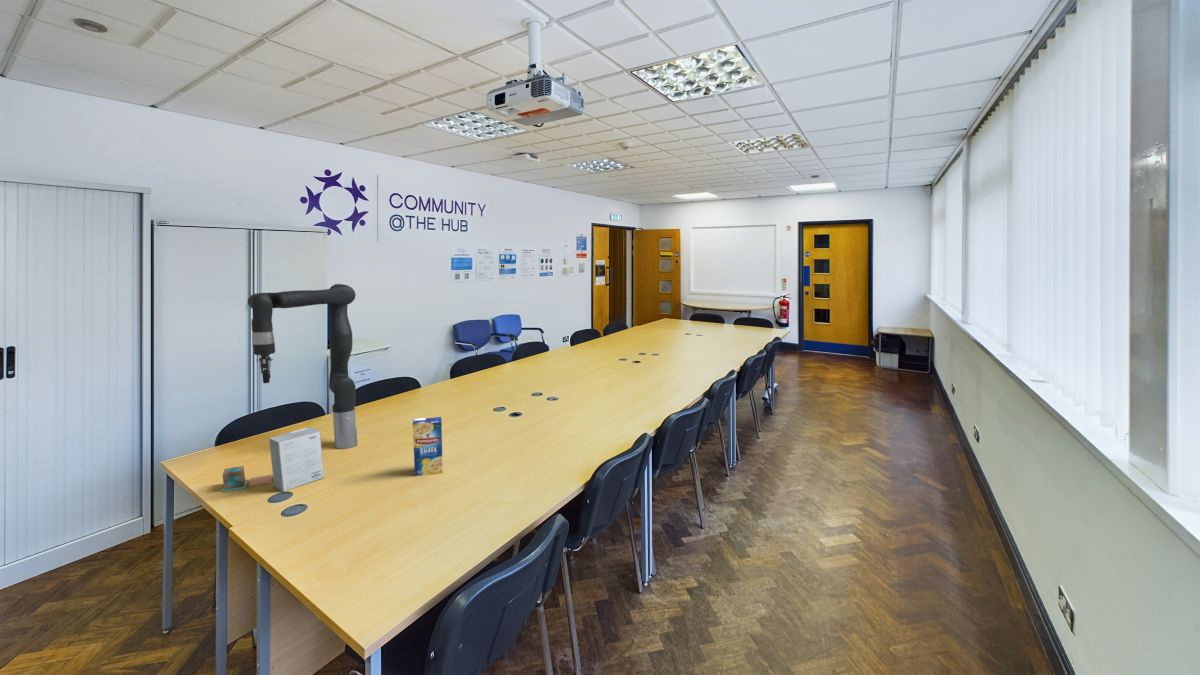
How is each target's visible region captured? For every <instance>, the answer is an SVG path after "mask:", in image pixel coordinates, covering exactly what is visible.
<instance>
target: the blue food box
mask: <svg viewBox="0 0 1200 675" xmlns="http://www.w3.org/2000/svg"><path fill="white" fill-rule="evenodd" d="M442 423H443V422H442V416H436V417H435V416H434V417H420V418H413V420H412V438H413V442H412V443H413V461H414V462H413V463H414V477H418V476H419V477H420V476H428V475H436V474H437V475H439V474H444V472H443V471H444V469H443V468H444V463H443V462H444V460H443V433H442V430H443V428H442V426H443V424H442Z"/></svg>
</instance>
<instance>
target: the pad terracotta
mask: <svg viewBox="0 0 1200 675" xmlns="http://www.w3.org/2000/svg"><path fill="white" fill-rule="evenodd" d="M271 483H272V474H266V475H262V476H260V475H259V476H254V477H249V482H248V487H253V486H259V485H260V484H261V485H265V484H271Z"/></svg>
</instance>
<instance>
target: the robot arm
mask: <svg viewBox="0 0 1200 675" xmlns="http://www.w3.org/2000/svg"><path fill="white" fill-rule="evenodd" d="M356 296H357V294H356V292H355V290H354V288H353V287H351V286H350V285H348V284H343V283H336V284H332V285H331V286H330V287H329V288H327V289H316V290H314V289H313V290H312V289H311V290H310V289H309V290H308V289H307V290H306V289H305V290H303V289H302V290H301V289H300V290H298V289H297V290H288V291H284V290H283V291H279V292H256V293H253V294H251V295H249V297H248V299H247V304H248V306H249V307H250V308H251V309H252V319H251V343H252V353H253V355H254V356H260V357H259V359H258V363H259V369H260V370H261V371H260V373H261V375H262V383H263V384H269V383H270V380H271V365H272V357H271V356H270V355H273V354H276V343H275V335H274V328H273V311H274V310H273V309H292V308H301V307H309V306H315V305H317V306H318V305H328V306H329V316H330V317H329V355H330V356H329V357H330V371H329V372H330V373H329V379H328V388H329V390H330V392H331V393H333V404H332V407H331V409H332V420H333V437H334V448H336V449H342V450H343V449H350V448H353V447H355V446H356V447H357V446H358V429H357V422H356V407H355V405H356V401H357V397H356V396H357V395H356V394H357V389H356V383H355V381H354V380H353V379H352V378H350V376H349V361H350V358H351V354H352V350H353V330H352V326H351V323H350V320H349V316H348V315H349V314H348V305H350V304H352V303H353V302H354V301H355V298H356Z"/></svg>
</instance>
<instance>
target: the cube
mask: <svg viewBox="0 0 1200 675" xmlns="http://www.w3.org/2000/svg"><path fill="white" fill-rule="evenodd" d="M245 476H246V475H245V466H244V465H241V466H234V467H229V468H224V469H223V472H222V482H223V487H224V490H227V489H233V488H239V487H244V484H245V480H246V477H245Z"/></svg>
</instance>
